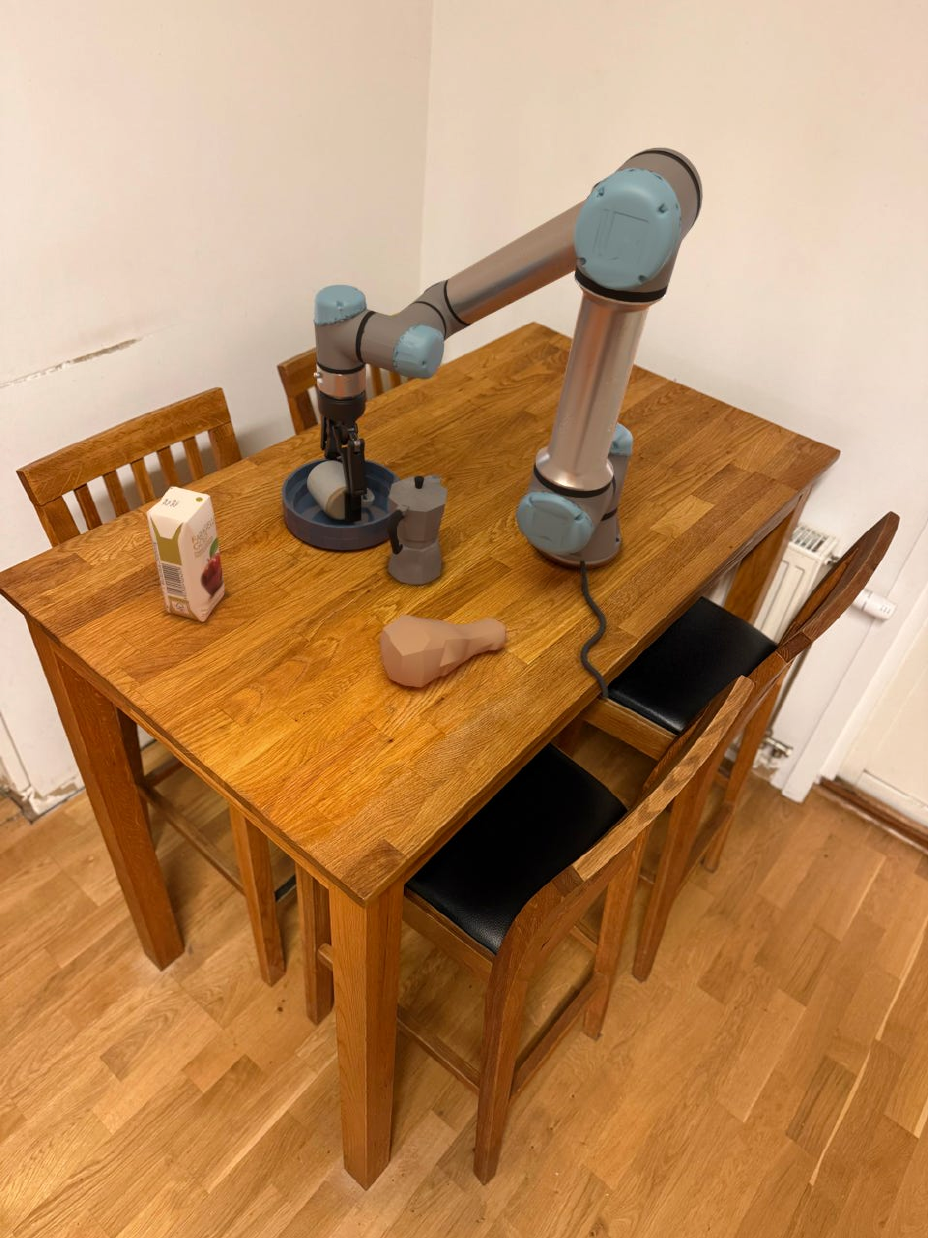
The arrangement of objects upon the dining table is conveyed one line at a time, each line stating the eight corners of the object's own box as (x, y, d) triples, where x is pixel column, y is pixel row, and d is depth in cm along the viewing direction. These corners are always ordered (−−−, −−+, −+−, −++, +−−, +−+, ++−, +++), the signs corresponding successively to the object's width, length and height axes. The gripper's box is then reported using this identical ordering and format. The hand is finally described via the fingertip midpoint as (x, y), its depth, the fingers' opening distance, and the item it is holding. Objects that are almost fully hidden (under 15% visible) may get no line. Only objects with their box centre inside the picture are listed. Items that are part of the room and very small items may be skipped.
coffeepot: (409, 537, 152) (413, 447, 140) (458, 556, 150) (466, 466, 137) (362, 588, 142) (361, 495, 130) (413, 608, 139) (418, 516, 127)
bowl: (422, 537, 153) (423, 511, 149) (306, 565, 145) (305, 539, 141) (376, 472, 166) (377, 447, 162) (268, 495, 158) (266, 469, 154)
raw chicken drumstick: (363, 662, 130) (365, 610, 126) (476, 634, 140) (483, 585, 136) (397, 703, 123) (401, 648, 118) (515, 670, 133) (523, 619, 128)
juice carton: (159, 615, 134) (137, 514, 121) (188, 580, 140) (169, 480, 127) (205, 627, 133) (188, 526, 120) (231, 592, 139) (217, 492, 126)
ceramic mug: (327, 527, 149) (326, 490, 144) (306, 501, 154) (305, 464, 149) (382, 512, 154) (384, 475, 149) (361, 487, 159) (362, 450, 154)
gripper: (296, 360, 144) (303, 477, 159) (342, 426, 130) (345, 546, 146) (340, 354, 146) (342, 469, 162) (389, 417, 133) (387, 536, 149)
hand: (343, 505), depth 154 cm, fingers closed on ceramic mug, 8 cm apart
